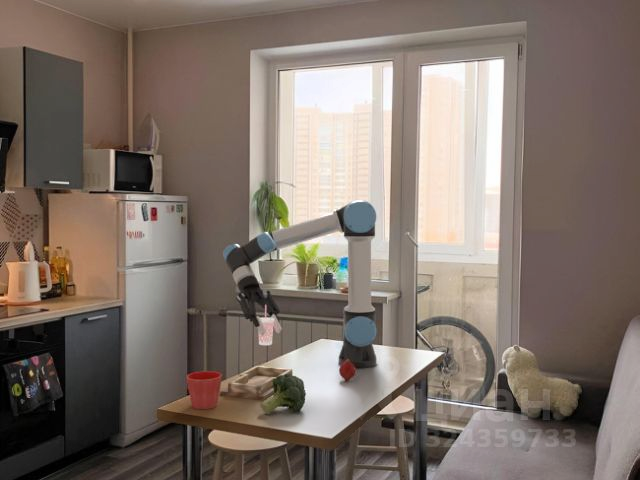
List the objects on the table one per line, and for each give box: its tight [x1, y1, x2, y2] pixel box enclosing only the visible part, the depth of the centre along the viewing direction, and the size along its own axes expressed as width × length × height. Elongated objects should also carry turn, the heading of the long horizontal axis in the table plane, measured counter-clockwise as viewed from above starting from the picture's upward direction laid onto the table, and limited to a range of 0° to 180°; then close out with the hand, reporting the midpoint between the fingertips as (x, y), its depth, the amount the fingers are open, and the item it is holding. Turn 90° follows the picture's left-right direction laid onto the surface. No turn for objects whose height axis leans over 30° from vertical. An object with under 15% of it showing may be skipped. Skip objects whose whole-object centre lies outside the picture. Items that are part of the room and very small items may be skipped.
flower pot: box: [186, 370, 223, 410], centre depth 208 cm, size 11×11×10 cm
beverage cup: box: [257, 305, 274, 346], centre depth 234 cm, size 6×6×14 cm
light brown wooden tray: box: [219, 365, 293, 401], centre depth 229 cm, size 16×26×4 cm, turn 160°
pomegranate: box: [338, 359, 356, 382], centre depth 238 cm, size 6×6×8 cm
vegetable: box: [260, 373, 307, 416], centre depth 202 cm, size 12×13×15 cm
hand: (271, 332), depth 232 cm, fingers closed on beverage cup, 6 cm apart
